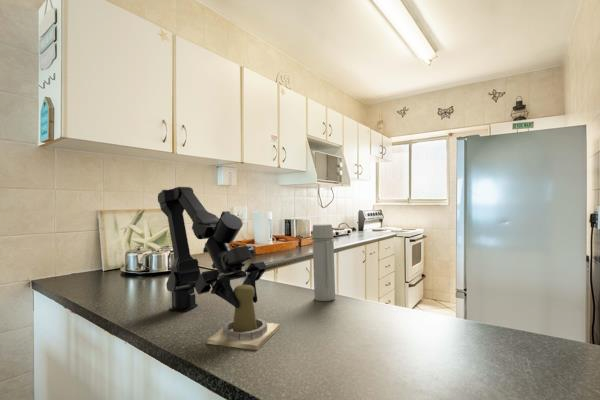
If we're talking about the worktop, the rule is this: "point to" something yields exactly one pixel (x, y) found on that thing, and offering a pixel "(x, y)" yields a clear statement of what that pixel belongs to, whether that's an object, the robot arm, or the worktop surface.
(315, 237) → the water bottle
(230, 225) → the robot arm
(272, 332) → the seat
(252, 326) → the cork
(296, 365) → the worktop surface
